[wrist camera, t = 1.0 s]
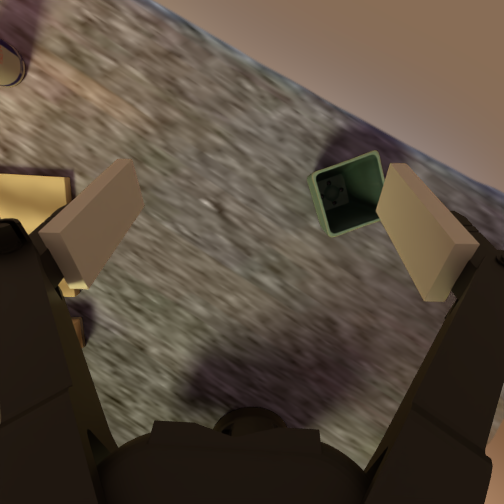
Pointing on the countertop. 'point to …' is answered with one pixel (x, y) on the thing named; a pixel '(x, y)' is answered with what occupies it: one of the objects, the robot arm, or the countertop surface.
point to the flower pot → (348, 193)
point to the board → (34, 203)
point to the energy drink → (10, 65)
